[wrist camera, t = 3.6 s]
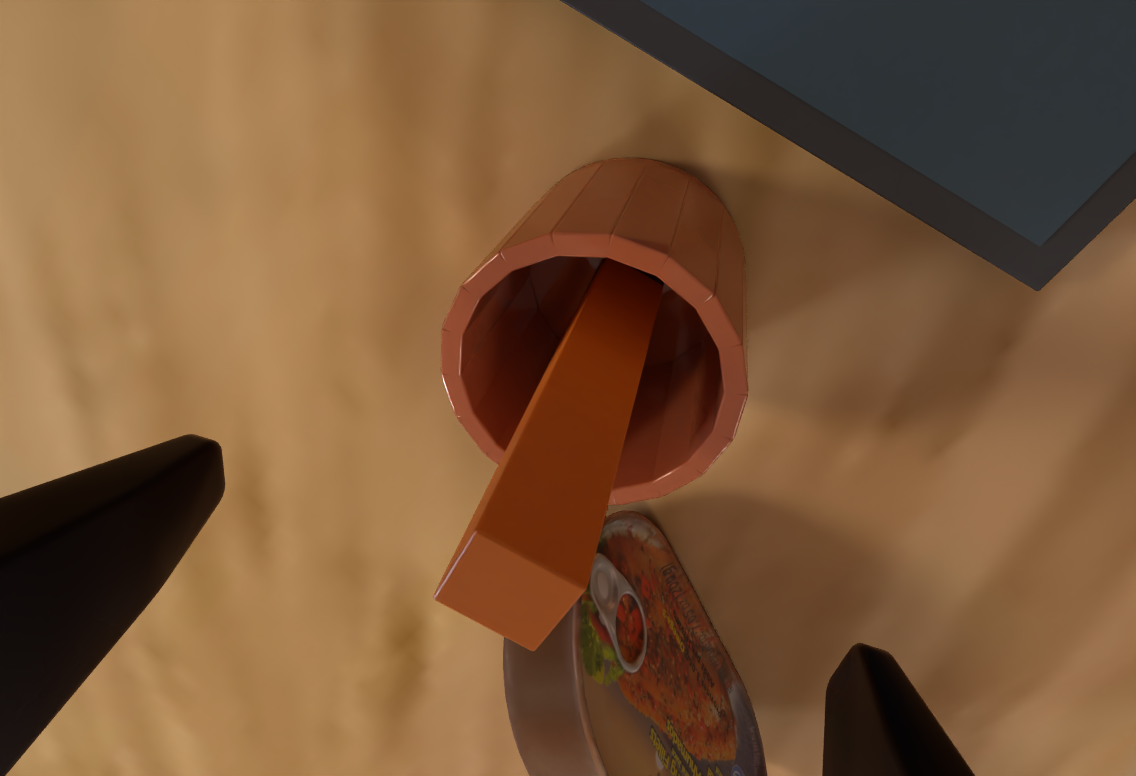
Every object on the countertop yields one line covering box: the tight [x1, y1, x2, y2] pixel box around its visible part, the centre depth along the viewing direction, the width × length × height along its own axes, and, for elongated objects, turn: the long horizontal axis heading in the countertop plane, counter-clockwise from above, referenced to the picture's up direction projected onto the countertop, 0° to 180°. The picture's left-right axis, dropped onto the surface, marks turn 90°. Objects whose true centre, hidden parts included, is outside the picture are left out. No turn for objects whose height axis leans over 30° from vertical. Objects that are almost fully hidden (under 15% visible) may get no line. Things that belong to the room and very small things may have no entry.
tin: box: [503, 511, 767, 776], centre depth 22 cm, size 15×3×8 cm, turn 27°
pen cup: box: [441, 158, 748, 505], centre depth 16 cm, size 6×6×6 cm
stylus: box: [434, 257, 664, 651], centre depth 14 cm, size 2×2×11 cm
